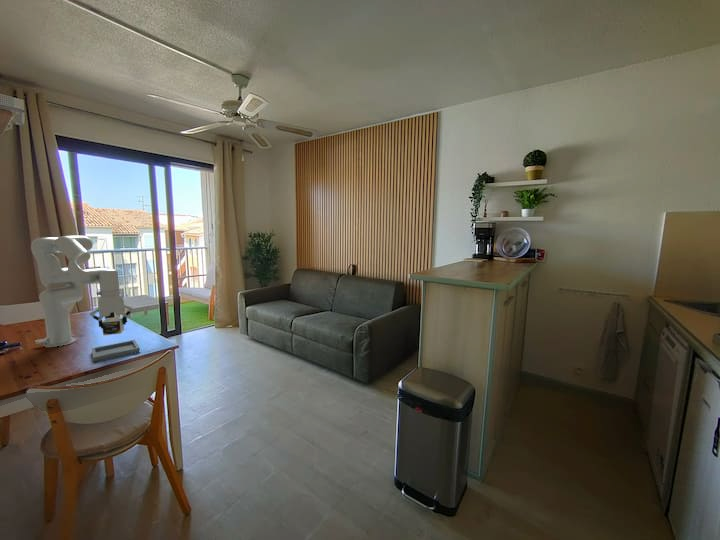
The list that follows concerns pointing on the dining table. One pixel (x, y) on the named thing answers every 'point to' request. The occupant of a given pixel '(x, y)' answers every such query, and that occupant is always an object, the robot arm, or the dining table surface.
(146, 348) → the dining table surface
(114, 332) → the medicine bottle
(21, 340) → the dining table surface
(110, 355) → the grey tray
